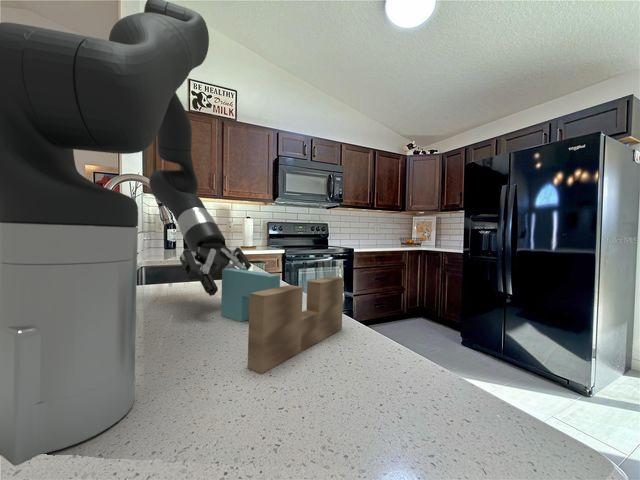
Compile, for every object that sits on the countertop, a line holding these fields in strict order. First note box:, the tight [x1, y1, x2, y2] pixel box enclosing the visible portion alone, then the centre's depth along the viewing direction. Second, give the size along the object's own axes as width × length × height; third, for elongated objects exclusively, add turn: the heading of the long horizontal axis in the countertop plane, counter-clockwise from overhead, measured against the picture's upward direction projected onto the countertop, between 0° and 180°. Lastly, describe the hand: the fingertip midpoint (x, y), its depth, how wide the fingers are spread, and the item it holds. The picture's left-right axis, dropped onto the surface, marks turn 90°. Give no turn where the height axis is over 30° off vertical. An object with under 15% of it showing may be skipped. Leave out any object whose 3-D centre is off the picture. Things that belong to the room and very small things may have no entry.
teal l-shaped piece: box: [220, 267, 281, 322], centre depth 53 cm, size 14×2×10 cm, turn 56°
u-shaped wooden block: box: [247, 275, 344, 375], centre depth 42 cm, size 20×2×10 cm, turn 146°
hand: (232, 289), depth 55 cm, fingers open, 8 cm apart
